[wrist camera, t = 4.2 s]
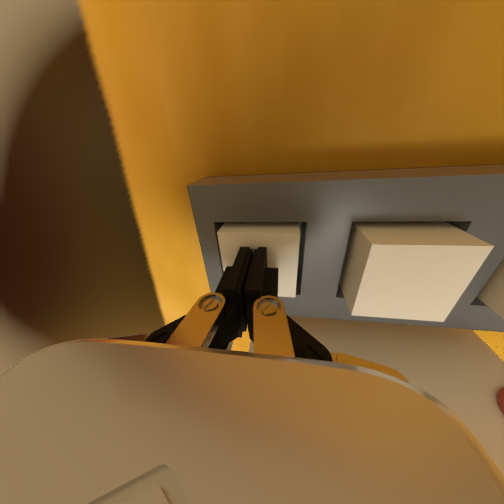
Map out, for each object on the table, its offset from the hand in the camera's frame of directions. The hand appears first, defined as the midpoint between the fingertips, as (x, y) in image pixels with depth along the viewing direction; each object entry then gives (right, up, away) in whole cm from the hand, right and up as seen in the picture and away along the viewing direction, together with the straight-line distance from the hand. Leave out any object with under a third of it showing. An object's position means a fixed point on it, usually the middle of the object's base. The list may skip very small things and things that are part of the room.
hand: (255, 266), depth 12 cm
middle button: (+8, +1, 0) cm, 8 cm away
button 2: (+1, +1, +3) cm, 3 cm away
